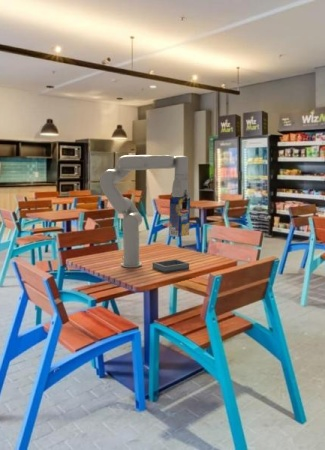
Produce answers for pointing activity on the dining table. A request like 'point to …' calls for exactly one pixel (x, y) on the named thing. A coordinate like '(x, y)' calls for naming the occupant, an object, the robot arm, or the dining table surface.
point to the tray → (170, 265)
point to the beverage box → (179, 217)
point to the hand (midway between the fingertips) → (179, 208)
